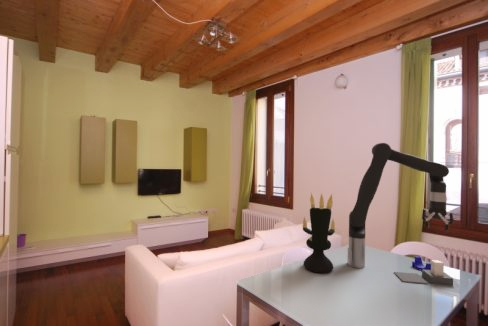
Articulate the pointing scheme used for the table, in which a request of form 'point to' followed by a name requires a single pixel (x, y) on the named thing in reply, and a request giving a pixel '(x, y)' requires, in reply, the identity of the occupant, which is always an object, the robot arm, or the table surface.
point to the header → (437, 278)
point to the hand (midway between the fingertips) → (437, 229)
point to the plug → (437, 267)
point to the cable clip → (420, 264)
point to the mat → (410, 277)
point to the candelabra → (319, 236)
